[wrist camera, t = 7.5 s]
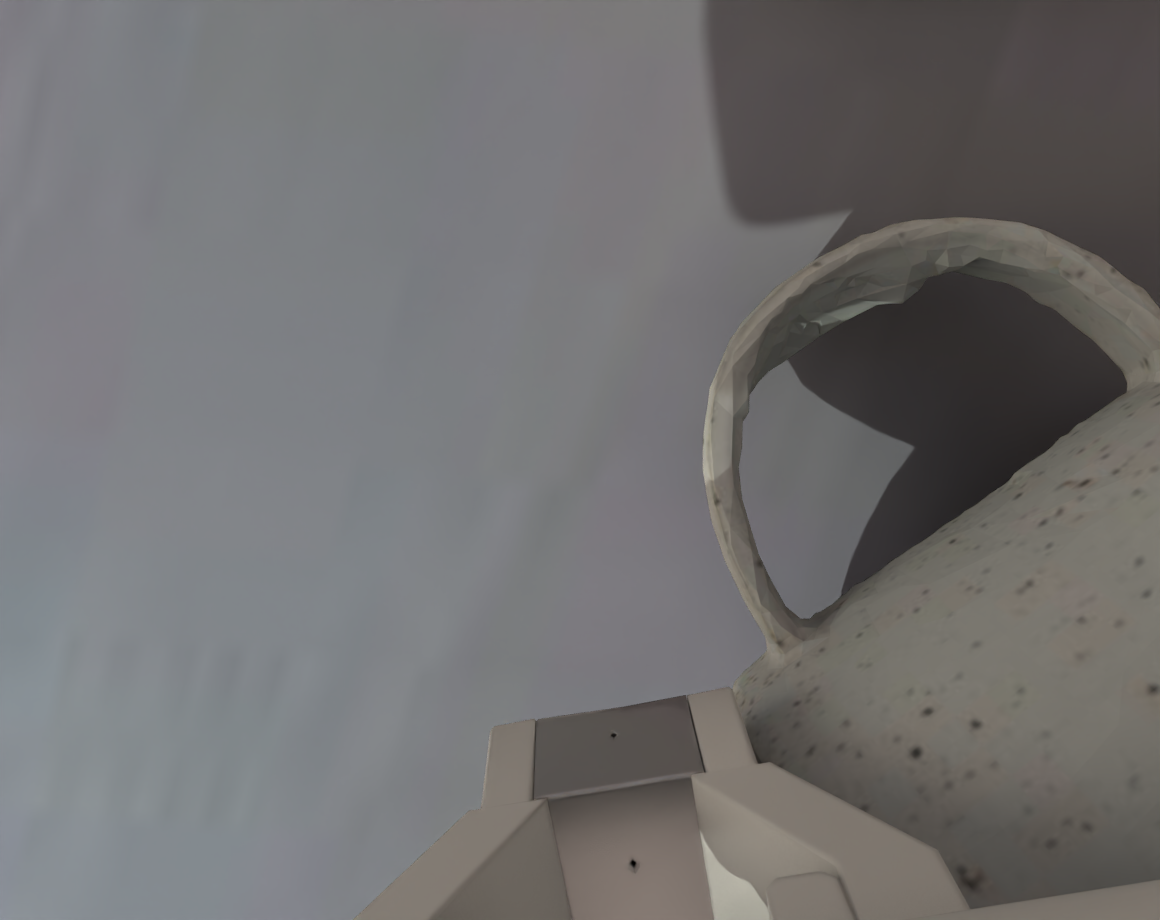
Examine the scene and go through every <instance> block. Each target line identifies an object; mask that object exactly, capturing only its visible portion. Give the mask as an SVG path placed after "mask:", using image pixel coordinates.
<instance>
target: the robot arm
mask: <svg viewBox="0 0 1160 920" xmlns="http://www.w3.org/2000/svg"><path fill="white" fill-rule="evenodd" d="M353 920H1160V880H1153V881H1147V882H1141V883H1134V884H1128V885H1122V886H1115V887H1109V888H1103V889H1096V890H1090V891H1083V892H1077V893H1071V894H1064V895H1058V896H1052V897H1045V898H1039V899H1033V900H1026V901H1020V902H1013V903H1007V904H1001V905H994V906H988V907H982V908H975V909H970V907H969V905H968V904H967V902H966V900H965V898H964V896H963V895H962V893H961V891H960V889H959V887H958V886H957V884H956V882H955V880H954V878H953V877H952V875H951V873H950V871H949V869H948V868H947V866H946V864H945V862H944V860H943V859H942V857H941V855H940V853H939V851H938V850H937V849H935V848H933V847H931V846H929V845H927V844H925V843H924V842H922V841H920V840H918V839H916V838H914V837H912V836H910V835H908V834H906V833H904V832H903V831H901V830H899V829H897V828H895V827H893V826H891V825H889V824H887V823H885V822H883V821H882V820H880V819H878V818H876V817H874V816H872V815H870V814H868V813H866V812H864V811H863V810H861V809H859V808H857V807H855V806H853V805H851V804H849V803H847V802H845V801H843V800H842V799H840V798H838V797H836V796H834V795H832V794H830V793H828V792H826V791H824V790H822V789H821V788H819V787H817V786H815V785H813V784H811V783H809V782H807V781H805V780H803V779H801V778H800V777H798V776H796V775H794V774H792V773H790V772H788V771H786V770H784V769H782V768H780V767H779V766H777V765H775V764H773V763H771V762H768V763H761V764H758V763H757V760H756V757H755V754H754V751H753V748H752V745H751V742H750V739H749V736H748V733H747V730H746V727H745V724H744V721H743V718H742V716H741V713H740V710H739V707H738V704H737V701H736V698H735V695H734V692H733V689H731V688H729V687H725V688H720V689H715V690H711V691H706V692H701V693H696V694H692V695H687V698H686V695H683V696H678V697H673V698H667V699H662V700H657V701H652V702H646V703H641V704H636V705H630V706H625V707H618V708H611V709H605V710H598V711H591V712H584V713H577V714H570V715H563V716H556V717H549V718H542V719H538V720H537V721H536V720H535V719H530V720H525V721H520V722H514V723H509V724H504V725H498V726H494V727H493V728H492V730H491V731H490V738H489V746H488V754H487V763H486V771H485V779H484V787H483V796H482V804H481V809H476V810H470V811H468V812H467V813H466V814H465V815H464V816H463V817H462V818H461V819H460V820H459V821H457V822H456V823H455V824H454V825H453V826H452V827H451V828H450V829H449V830H448V831H447V832H446V833H445V834H444V835H443V836H442V837H440V838H439V839H438V840H437V841H436V842H435V843H434V844H433V845H432V846H431V847H430V848H429V849H428V850H427V851H426V852H425V853H423V854H422V855H421V856H420V857H419V858H418V859H417V860H416V861H415V862H414V863H413V864H412V865H411V866H410V867H409V868H408V869H406V870H405V871H404V872H403V873H402V874H401V875H400V876H399V877H398V878H397V879H396V880H395V881H394V882H393V883H392V884H390V885H389V886H388V887H387V888H386V889H385V890H384V891H383V892H382V893H381V894H380V895H379V896H378V897H377V898H376V899H375V900H373V901H372V902H371V903H370V904H369V905H368V906H367V907H366V908H365V909H364V910H363V911H362V912H361V913H360V914H359V915H358V916H356V917H355V918H354V919H353Z"/></svg>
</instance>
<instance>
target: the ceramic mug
mask: <svg viewBox="0 0 1160 920" xmlns="http://www.w3.org/2000/svg"><path fill="white" fill-rule="evenodd" d="M951 271H953V272H958V273H962V274H966V275H970V276H975V277H979V278H983V279H988V280H994V281H1000V282H1006V283H1008V284H1010V285H1012V286H1014V287H1016V288H1018V289H1020V290H1022V291H1024V292H1026V293H1027V294H1028V295H1030V296H1031V297H1032V298H1033V299H1034V300H1035V301H1036V302H1037V303H1040V304H1042V305H1045V306H1048V307H1050V308H1053V309H1055V310H1056V311H1057V312H1058V313H1059V314H1061V315H1062V316H1063V317H1064V318H1065V319H1066V320H1068V321H1069V322H1070V323H1071V324H1072V325H1074V326H1075V327H1076V328H1077V329H1078V330H1080V331H1081V332H1082V333H1084V334H1085V335H1086V336H1088V337H1089V338H1090V339H1092V340H1093V341H1094V342H1095V343H1096V344H1097V345H1098V346H1099V347H1100V348H1101V349H1102V350H1103V351H1104V352H1105V353H1106V354H1107V355H1108V356H1109V357H1110V359H1111V360H1112V361H1113V362H1114V363H1115V364H1116V365H1117V366H1118V367H1119V368H1120V369H1121V370H1122V372H1123V374H1124V376H1125V379H1126V381H1127V392H1126V393H1125V394H1123V395H1121V396H1119V397H1118V398H1117V399H1115V400H1114V401H1112V402H1111V403H1109V404H1108V405H1107V406H1105V407H1104V408H1102V409H1101V410H1099V411H1098V412H1097V413H1095V414H1094V415H1092V416H1091V417H1090V418H1088V419H1087V420H1085V421H1083V422H1081V423H1079V424H1077V425H1076V426H1075V427H1074V428H1073V429H1072V430H1071V431H1070V432H1069V433H1068V434H1067V435H1064V436H1062V437H1060V438H1059V439H1058V440H1057V441H1056V442H1055V444H1054V445H1053V446H1052V447H1051V448H1049V449H1048V450H1047V451H1046V452H1045V453H1044V454H1042V455H1040V456H1039V457H1037V458H1036V459H1034V460H1032V461H1031V462H1029V463H1028V464H1026V465H1025V466H1024V467H1022V468H1021V469H1020V470H1018V471H1017V472H1015V473H1014V474H1013V476H1012V477H1011V478H1010V480H1009V481H1008V482H1007V483H1005V484H1004V485H1003V486H1001V487H1000V488H998V489H997V490H995V491H994V492H992V493H991V494H989V495H988V496H986V497H985V498H984V499H983V500H981V501H980V502H979V503H978V504H976V505H975V506H973V507H971V508H969V509H967V510H966V511H964V512H963V513H962V514H961V515H960V516H958V517H957V518H955V519H953V520H952V521H950V522H948V523H947V524H945V525H943V526H942V527H941V528H940V529H938V530H937V531H936V532H935V533H934V534H932V535H931V536H929V537H928V538H926V539H925V540H923V541H922V542H920V543H918V544H917V545H915V546H913V547H912V548H911V549H909V550H908V551H906V552H905V553H903V554H902V555H900V556H899V557H897V558H896V559H894V560H892V561H891V562H889V563H888V564H887V565H886V566H885V567H884V568H883V569H881V570H880V571H878V572H877V573H875V574H874V575H872V576H871V577H869V578H868V579H867V580H866V581H864V582H862V583H859V584H856V585H854V586H853V587H852V588H851V589H850V590H849V591H848V592H847V593H846V594H844V595H842V596H841V597H840V598H839V599H838V600H836V601H835V602H834V603H833V604H832V605H830V606H829V607H827V608H825V609H824V610H822V611H821V612H818V613H815V614H814V615H813V616H812V617H811V618H810V619H800V618H799V617H798V616H796V615H795V614H794V613H793V612H792V611H790V610H789V609H788V608H787V607H786V606H785V604H784V603H783V601H782V599H781V597H780V595H779V594H778V592H777V590H776V588H775V586H774V585H773V583H772V581H771V579H770V577H769V575H768V573H767V571H766V569H765V567H764V565H763V562H762V560H761V558H760V556H759V554H758V551H757V548H756V544H755V541H754V538H753V534H752V531H751V527H750V524H749V521H748V517H747V514H746V511H745V507H744V504H743V501H742V495H741V486H740V476H739V461H740V455H741V450H742V427H743V421H744V419H745V417H746V416H747V414H748V412H749V395H750V393H751V392H752V391H753V389H754V388H755V386H756V385H757V383H758V382H759V381H760V380H761V379H762V378H763V377H764V376H765V374H766V373H767V372H768V371H770V370H772V369H773V368H775V367H776V366H778V365H779V364H781V363H783V362H784V361H786V360H787V359H788V358H790V357H791V356H793V355H794V354H795V353H797V352H798V351H800V350H801V349H803V348H804V347H805V346H807V345H808V344H810V343H811V342H812V341H814V340H815V339H817V338H818V337H820V336H821V335H823V334H824V333H826V332H828V331H829V330H831V329H833V328H834V327H836V326H838V325H839V324H841V323H842V322H844V321H846V320H848V319H850V318H852V317H854V316H856V315H858V314H860V313H862V312H864V311H866V310H868V309H870V308H872V307H874V306H876V305H881V304H902V303H903V302H905V301H906V300H907V299H908V298H910V297H911V296H912V295H913V294H915V293H916V292H917V291H918V290H919V289H920V288H921V286H922V285H923V283H924V282H925V280H926V279H927V277H929V276H936V275H941V274H944V273H947V272H951ZM703 472H704V479H705V486H706V494H707V500H708V505H709V511H710V516H711V521H712V524H713V527H714V530H715V533H716V536H717V539H718V542H719V545H720V548H721V551H722V554H723V557H724V560H725V562H726V564H727V566H728V568H729V570H730V573H731V575H732V577H733V579H734V581H735V583H736V585H737V587H738V589H739V591H740V594H741V596H742V598H743V600H744V601H745V603H746V605H747V607H748V609H749V610H750V612H751V614H752V616H753V617H754V619H755V621H756V622H757V624H758V626H759V627H760V629H761V631H762V632H763V634H764V636H765V638H766V645H767V650H766V652H765V653H764V654H763V655H762V656H761V657H760V658H759V659H758V660H757V661H756V662H755V663H753V664H752V665H751V666H750V667H749V668H748V669H746V670H745V671H744V672H743V673H742V674H741V675H740V677H739V678H738V679H737V680H736V681H735V683H734V686H733V692H734V695H735V698H736V701H737V704H738V707H739V710H740V713H741V716H742V718H743V721H744V724H745V727H746V730H747V733H748V736H749V739H750V742H751V745H752V748H753V751H754V754H755V757H756V760H757V763H758V764H761V763H768V762H771V763H773V764H775V765H777V766H779V767H780V768H782V769H784V770H786V771H788V772H790V773H792V774H794V775H796V776H798V777H800V778H801V779H803V780H805V781H807V782H809V783H811V784H813V785H815V786H817V787H819V788H821V789H822V790H824V791H826V792H828V793H830V794H832V795H834V796H836V797H838V798H840V799H842V800H843V801H845V802H847V803H849V804H851V805H853V806H855V807H857V808H859V809H861V810H863V811H864V812H866V813H868V814H870V815H872V816H874V817H876V818H878V819H880V820H882V821H883V822H885V823H887V824H889V825H891V826H893V827H895V828H897V829H899V830H901V831H903V832H904V833H906V834H908V835H910V836H912V837H914V838H916V839H918V840H920V841H922V842H924V843H925V844H927V845H929V846H931V847H933V848H935V849H937V850H938V851H939V853H940V855H941V857H942V859H943V860H944V862H945V864H946V866H947V868H948V869H949V871H950V873H951V875H952V877H953V878H954V880H955V882H956V884H957V886H958V887H959V889H960V891H961V893H962V895H963V896H964V898H965V900H966V902H967V904H968V905H969V907H970V909H975V908H982V907H988V906H994V905H1001V904H1007V903H1013V902H1020V901H1026V900H1033V899H1039V898H1045V897H1052V896H1058V895H1064V894H1071V893H1077V892H1083V891H1090V890H1096V889H1103V888H1109V887H1115V886H1122V885H1128V884H1134V883H1141V882H1147V881H1153V880H1160V308H1159V307H1158V306H1157V304H1156V303H1155V302H1154V301H1153V299H1152V298H1151V297H1150V296H1149V294H1148V293H1147V292H1146V291H1145V289H1143V288H1142V287H1140V286H1138V285H1137V284H1135V283H1133V282H1131V281H1130V280H1128V279H1127V278H1126V277H1124V276H1123V275H1122V274H1121V273H1119V272H1118V271H1117V270H1116V269H1115V268H1113V267H1112V266H1111V265H1110V264H1109V263H1107V262H1106V261H1105V260H1104V259H1102V258H1101V257H1099V256H1097V255H1095V254H1093V253H1091V252H1089V251H1087V250H1085V249H1083V248H1080V247H1078V246H1076V245H1074V244H1072V243H1070V242H1068V241H1066V240H1063V239H1061V238H1059V237H1057V236H1055V235H1053V234H1051V233H1049V232H1047V231H1045V230H1042V229H1039V228H1036V227H1033V226H1029V225H1026V224H1023V223H1020V222H1011V221H1001V220H991V219H979V218H967V217H951V218H941V219H924V220H912V221H907V222H902V223H897V224H891V225H889V226H887V227H884V228H882V229H880V230H878V231H876V232H874V233H869V234H864V235H860V236H859V237H857V238H855V239H853V240H852V241H850V242H848V243H846V244H845V245H843V246H841V247H839V248H837V249H835V250H833V251H831V252H829V253H827V254H825V255H823V256H820V257H818V258H817V259H816V260H814V261H813V262H811V263H810V264H808V265H807V266H806V267H804V268H803V269H801V270H800V271H798V272H797V273H796V274H794V275H793V276H791V277H790V278H788V279H787V280H786V281H784V282H783V283H781V284H780V285H778V286H777V287H776V288H775V289H774V290H773V291H772V292H771V293H770V294H769V295H768V296H767V297H766V298H765V299H764V300H763V301H762V302H761V303H760V304H759V305H758V306H757V307H756V308H755V309H754V310H753V311H752V312H751V314H750V315H749V316H748V317H747V318H746V319H745V320H744V321H743V322H742V323H741V324H740V326H739V328H738V330H737V331H736V333H735V334H734V335H733V336H732V337H731V339H730V341H729V344H728V346H727V348H726V351H725V353H724V355H723V358H722V360H721V363H720V365H719V368H718V370H717V372H716V375H715V377H714V380H713V382H712V384H711V387H710V390H709V400H708V407H707V413H706V419H705V427H704V434H703Z"/></svg>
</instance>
